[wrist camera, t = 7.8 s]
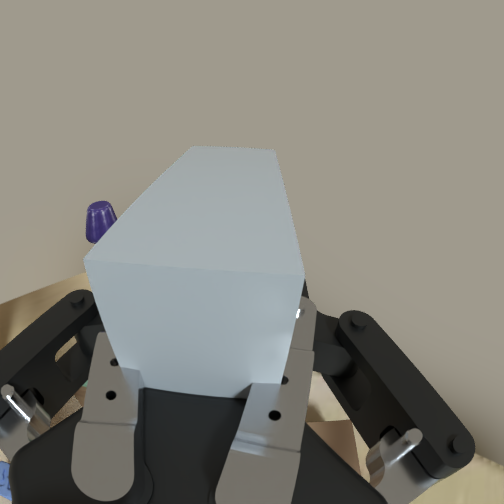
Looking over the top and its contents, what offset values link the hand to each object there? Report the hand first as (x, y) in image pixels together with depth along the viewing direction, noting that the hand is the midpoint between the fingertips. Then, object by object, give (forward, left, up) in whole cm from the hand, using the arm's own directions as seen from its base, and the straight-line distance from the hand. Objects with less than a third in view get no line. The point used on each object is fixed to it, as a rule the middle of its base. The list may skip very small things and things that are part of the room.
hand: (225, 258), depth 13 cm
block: (0, -3, -7) cm, 7 cm away
